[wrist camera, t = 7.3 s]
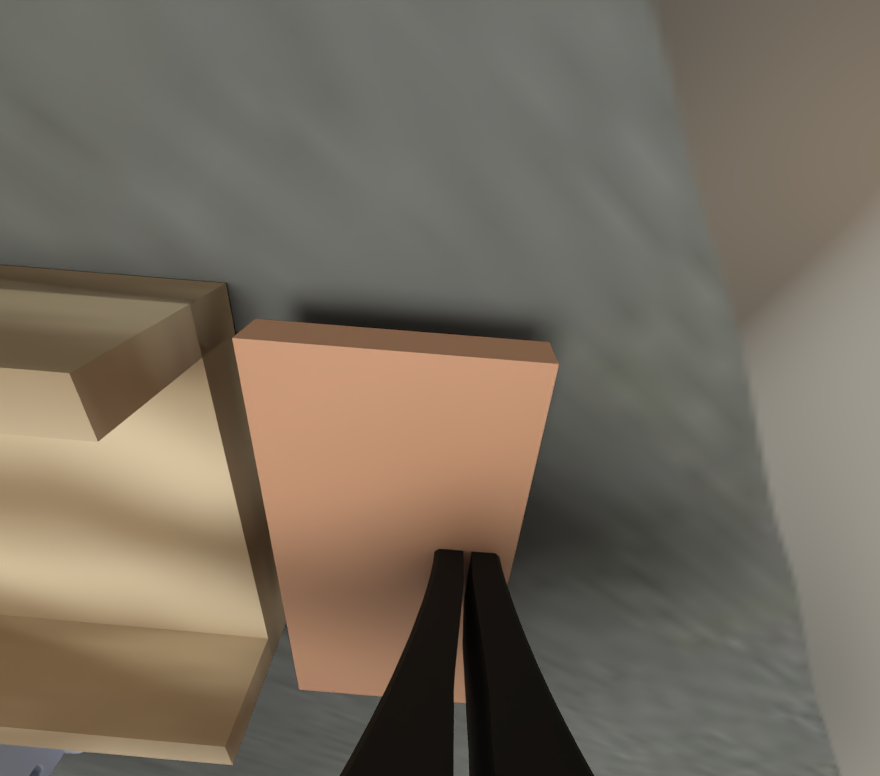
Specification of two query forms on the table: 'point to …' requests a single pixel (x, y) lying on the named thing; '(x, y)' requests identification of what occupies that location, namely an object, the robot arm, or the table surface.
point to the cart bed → (128, 520)
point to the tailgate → (384, 476)
